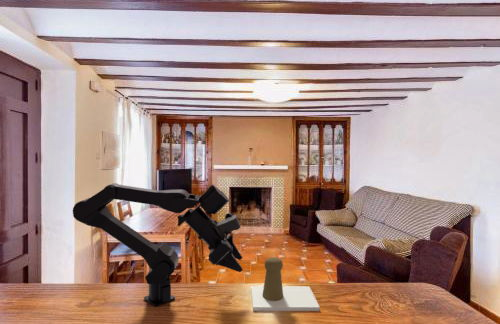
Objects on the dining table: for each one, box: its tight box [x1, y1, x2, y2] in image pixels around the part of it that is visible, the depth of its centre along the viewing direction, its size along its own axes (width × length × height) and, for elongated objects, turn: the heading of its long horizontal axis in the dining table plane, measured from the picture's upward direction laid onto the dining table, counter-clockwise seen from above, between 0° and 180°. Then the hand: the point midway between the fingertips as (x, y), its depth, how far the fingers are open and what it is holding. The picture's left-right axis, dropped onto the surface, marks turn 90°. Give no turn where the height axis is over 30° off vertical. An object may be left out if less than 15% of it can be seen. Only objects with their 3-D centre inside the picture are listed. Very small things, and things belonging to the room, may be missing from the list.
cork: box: [263, 256, 284, 301], centre depth 96 cm, size 6×6×11 cm
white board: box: [250, 285, 321, 312], centre depth 96 cm, size 18×13×1 cm
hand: (241, 264), depth 95 cm, fingers open, 9 cm apart
